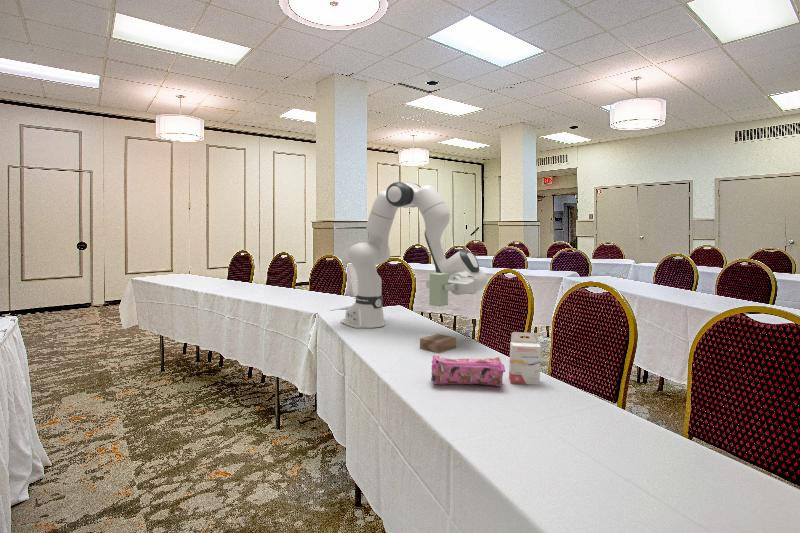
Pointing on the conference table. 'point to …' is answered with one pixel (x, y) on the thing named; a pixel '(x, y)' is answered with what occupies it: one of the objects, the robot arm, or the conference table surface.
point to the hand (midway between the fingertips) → (437, 287)
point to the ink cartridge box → (524, 358)
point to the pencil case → (467, 371)
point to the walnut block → (437, 343)
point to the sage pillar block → (438, 289)
